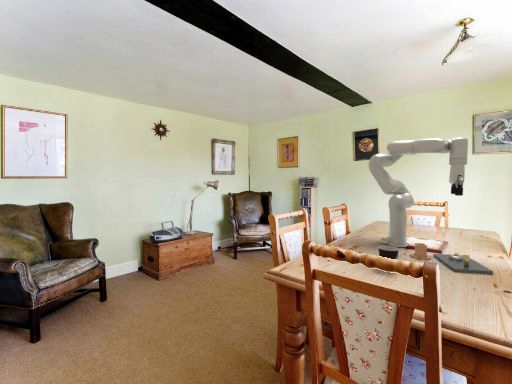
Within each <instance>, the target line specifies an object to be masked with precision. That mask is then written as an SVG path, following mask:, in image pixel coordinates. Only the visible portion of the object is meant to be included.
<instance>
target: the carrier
mask: <svg viewBox="0 0 512 384" xmlns="http://www.w3.org/2000/svg"><path fill="white" fill-rule="evenodd" d="M432 256H433V258H435V259H436V260H437V261H438V262H440V263H441V264H443V265H444V266H445V267H447V268H448V269H450V270H451V271H452V272H454V273H463V274H464V273H465V274H477V275H478V274H481V275H491V276H493V275H494V271H493V270H492V269H491V268H488V267H487V266H485V265H483V264H481V263H480V262H478V261H476V260H475V259H473V258H471V257H470V254H469V253H465V254H463V255H462V254H459V252H454V254H451V253H450V254H449V253H448V254H446V253H445V254H444V253H443V254H442V253H433V255H432Z"/></svg>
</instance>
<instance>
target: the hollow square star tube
mask: <svg viewBox="0 0 512 384" xmlns="http://www.w3.org/2000/svg"><path fill="white" fill-rule="evenodd" d="M409 257H410V258H414V259H416V260H422V261H425V260H432V255H429V254H428V245H427V244H426V243H421V242H415V243H414V252H410V254H409Z"/></svg>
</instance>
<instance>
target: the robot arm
mask: <svg viewBox="0 0 512 384" xmlns="http://www.w3.org/2000/svg"><path fill="white" fill-rule="evenodd" d="M468 150H469V139H468V138H466V137H455V138H452V139H444V138H425V139H424V138H422V139H409V140H408V139H407V140H406V139H404V140H392V141H390V142H389V143H388V144H387V146H386V151H387V153H376V154H373V155H372V156H371V157H370V159H369V160H368V161H369V162H368V169H369V172H370V175H372V177H373V178H374V179H375V181H376V183H377V185H378V186H379V187H380V189H381V191H382V192H383V193H384V194H385V195H387V196H388V195H390V198H389V200H388V210H389V228H388V229H389V232H388V236H386V237H380V241H383V242H385V243H386V246H393V247H396V248H407V246H408V245H409V246H410V244H409V243H408V242H407V236H408V234H407V230H408V228H407V227H408V216H407V215H408V214H407V209H409V208H412V207H413V205H414V203H415V200H414V197H413V195H412V194H411V193H410V191H409V190H408V188H407V186H406V185H405V184H404V182H403V181H401V180H399V179H393V178H392V176H390V173H389V172H388V171H387V170H386V169H385V168H388V167H391V166H393V165H395V164H396V162H398V160H400V159H401V158H403V156H404V155H406V156H407V155H409V156H410V155H411V156H412V155H417V154H448V153H449V154H448V155H449V160H448V165H449V166H450V169H449V178H448V182H449V184H450V194H451V195H454V196H458V197H459V196H460V197H461V196H463V195H464V183H465V171H466V166H467V165H468V152H469V151H468ZM465 165H466V166H465ZM409 246H408V247H409Z"/></svg>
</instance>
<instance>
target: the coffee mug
mask: <svg viewBox="0 0 512 384" xmlns="http://www.w3.org/2000/svg"><path fill="white" fill-rule="evenodd" d="M377 248H378V257H379V256H382V257H387V258H391V259H397V260H398V256H399V250H400V249H399V247H394V246H390V245H379V246H378V247H377Z"/></svg>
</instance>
